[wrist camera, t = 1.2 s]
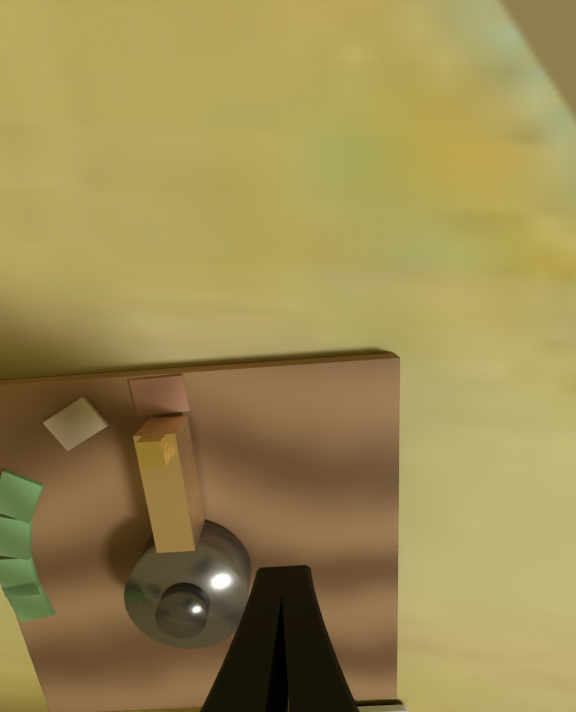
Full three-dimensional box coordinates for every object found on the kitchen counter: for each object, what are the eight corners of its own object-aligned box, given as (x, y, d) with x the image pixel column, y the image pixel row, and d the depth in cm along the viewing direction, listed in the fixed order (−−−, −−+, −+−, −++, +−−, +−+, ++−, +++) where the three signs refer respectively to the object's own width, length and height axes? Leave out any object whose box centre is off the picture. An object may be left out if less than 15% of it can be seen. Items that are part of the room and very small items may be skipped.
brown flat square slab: (391, 678, 22) (397, 701, 21) (60, 695, 23) (47, 718, 21) (393, 352, 17) (401, 358, 15) (-45, 383, 17) (-69, 391, 16)
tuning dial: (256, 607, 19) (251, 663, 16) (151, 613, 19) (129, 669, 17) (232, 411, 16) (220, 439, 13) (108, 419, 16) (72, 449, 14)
